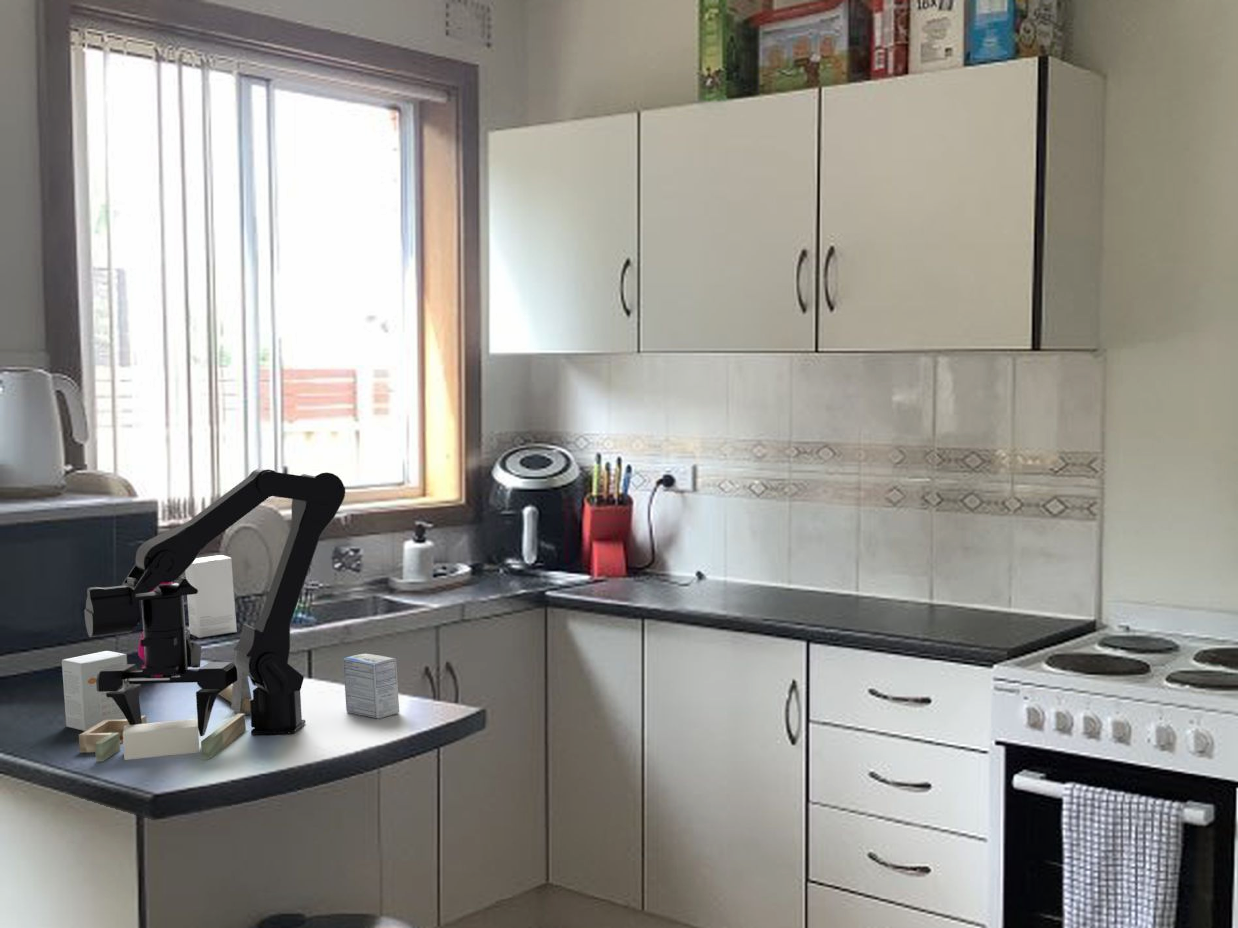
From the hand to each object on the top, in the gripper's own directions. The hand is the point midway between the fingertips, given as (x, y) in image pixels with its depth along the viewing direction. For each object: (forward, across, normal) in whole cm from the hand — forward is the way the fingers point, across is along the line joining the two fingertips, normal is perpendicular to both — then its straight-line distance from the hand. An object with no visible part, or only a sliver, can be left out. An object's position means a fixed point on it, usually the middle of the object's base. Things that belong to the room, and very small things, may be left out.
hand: (170, 736), depth 213 cm
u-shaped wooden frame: (+1, +2, -1) cm, 3 cm away
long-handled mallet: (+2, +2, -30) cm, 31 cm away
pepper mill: (+2, +21, -51) cm, 55 cm away
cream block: (+2, 0, +2) cm, 3 cm away
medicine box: (+2, -25, -18) cm, 31 cm away
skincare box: (+2, +25, -90) cm, 93 cm away
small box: (+2, +17, -15) cm, 23 cm away
